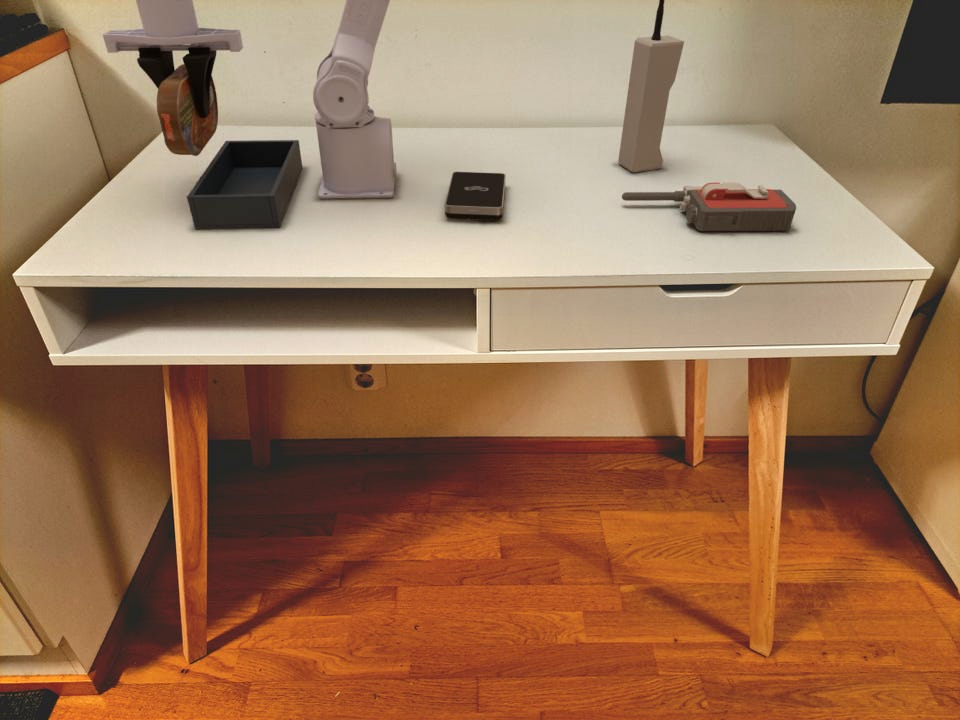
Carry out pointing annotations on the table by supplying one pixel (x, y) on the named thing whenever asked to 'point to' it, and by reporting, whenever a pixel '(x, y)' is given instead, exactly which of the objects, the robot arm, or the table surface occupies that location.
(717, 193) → the walkie-talkie
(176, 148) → the tin
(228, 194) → the bin
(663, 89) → the vintage mobile phone
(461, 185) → the external hard drive
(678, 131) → the table surface
